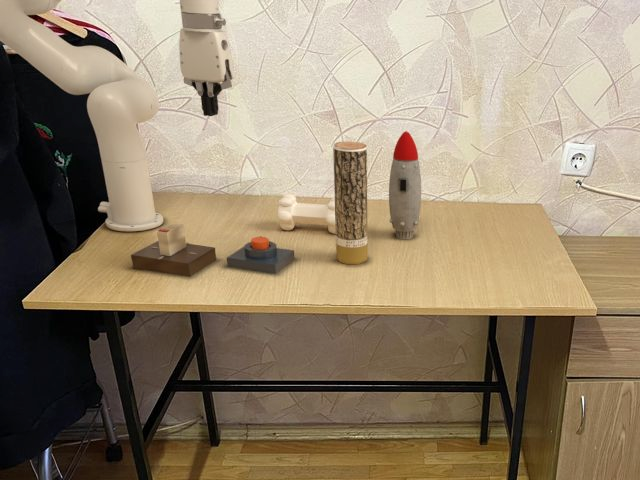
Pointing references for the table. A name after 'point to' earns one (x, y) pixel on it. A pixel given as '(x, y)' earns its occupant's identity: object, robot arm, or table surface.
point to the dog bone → (305, 213)
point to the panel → (174, 259)
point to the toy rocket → (405, 187)
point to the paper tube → (350, 201)
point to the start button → (260, 243)
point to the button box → (261, 258)
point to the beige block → (171, 239)
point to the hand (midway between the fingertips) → (210, 114)
